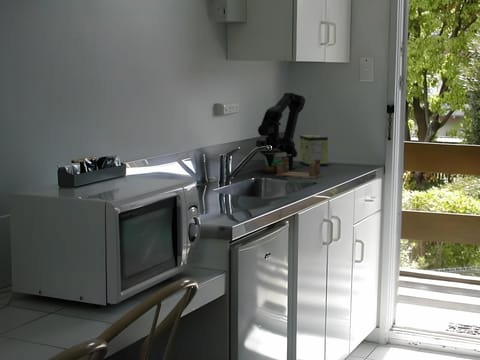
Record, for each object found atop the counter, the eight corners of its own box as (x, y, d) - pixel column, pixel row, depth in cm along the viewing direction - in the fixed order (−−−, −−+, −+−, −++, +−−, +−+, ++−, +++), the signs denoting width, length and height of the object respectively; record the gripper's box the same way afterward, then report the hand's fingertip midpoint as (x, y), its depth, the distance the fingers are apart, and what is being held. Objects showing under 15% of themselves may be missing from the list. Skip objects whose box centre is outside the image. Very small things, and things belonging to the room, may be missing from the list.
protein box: (317, 162, 401) (317, 134, 399) (327, 166, 387) (328, 137, 384) (299, 163, 399) (299, 135, 396) (309, 167, 384) (309, 137, 381)
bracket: (285, 173, 360) (285, 157, 359) (321, 175, 351) (321, 159, 350) (276, 176, 351) (276, 159, 350) (312, 178, 342) (313, 161, 341)
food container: (259, 172, 366) (259, 152, 364) (264, 170, 371) (264, 150, 369) (281, 173, 360) (281, 153, 358) (286, 172, 365) (287, 152, 364)
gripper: (267, 132, 375) (266, 162, 377) (250, 135, 358) (250, 167, 361) (286, 133, 369) (286, 164, 372) (270, 136, 353) (270, 168, 355)
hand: (273, 165), depth 365 cm, fingers open, 7 cm apart
